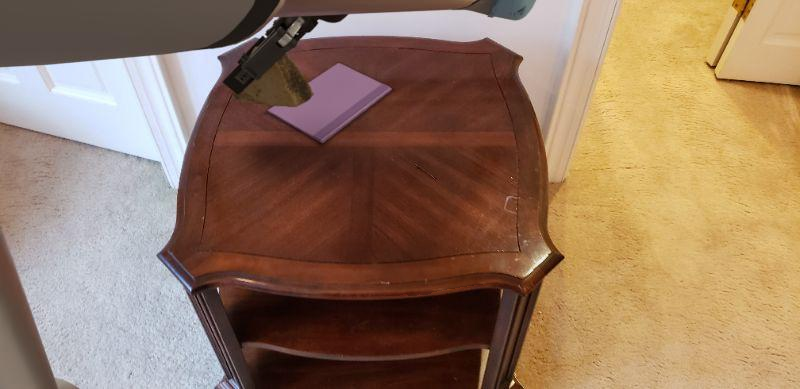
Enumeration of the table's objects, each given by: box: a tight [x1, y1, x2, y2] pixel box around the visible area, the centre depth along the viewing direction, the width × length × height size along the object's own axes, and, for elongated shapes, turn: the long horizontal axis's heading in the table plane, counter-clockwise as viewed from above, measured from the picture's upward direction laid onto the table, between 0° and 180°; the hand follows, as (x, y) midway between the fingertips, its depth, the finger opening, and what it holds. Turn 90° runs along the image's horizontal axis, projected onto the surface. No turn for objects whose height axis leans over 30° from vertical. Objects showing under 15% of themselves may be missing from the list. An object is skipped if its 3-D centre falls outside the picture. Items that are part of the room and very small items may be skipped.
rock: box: [232, 47, 314, 107], centre depth 79 cm, size 11×9×10 cm
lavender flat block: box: [267, 62, 393, 144], centre depth 98 cm, size 18×13×1 cm
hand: (238, 76), depth 79 cm, fingers closed on rock, 4 cm apart
